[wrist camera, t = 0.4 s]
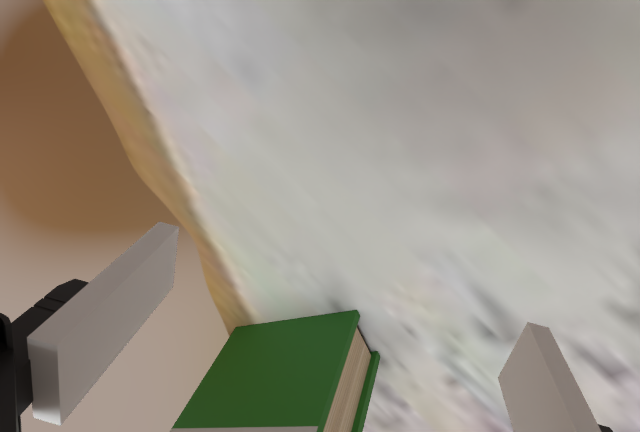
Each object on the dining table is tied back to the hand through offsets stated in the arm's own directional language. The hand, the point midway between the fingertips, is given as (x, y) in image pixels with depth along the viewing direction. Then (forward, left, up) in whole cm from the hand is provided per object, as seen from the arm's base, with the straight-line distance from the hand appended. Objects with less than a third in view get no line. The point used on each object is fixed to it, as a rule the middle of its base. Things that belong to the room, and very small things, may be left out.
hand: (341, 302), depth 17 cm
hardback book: (+24, +23, -25) cm, 42 cm away
